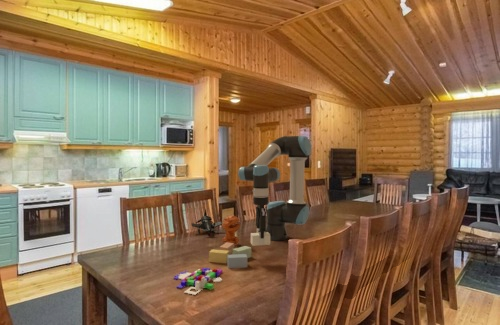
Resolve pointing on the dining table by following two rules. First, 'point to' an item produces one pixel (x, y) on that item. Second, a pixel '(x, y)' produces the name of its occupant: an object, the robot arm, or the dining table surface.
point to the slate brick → (237, 261)
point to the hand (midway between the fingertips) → (260, 242)
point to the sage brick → (242, 251)
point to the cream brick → (256, 239)
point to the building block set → (198, 279)
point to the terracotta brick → (227, 247)
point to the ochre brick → (218, 256)
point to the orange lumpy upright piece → (231, 229)
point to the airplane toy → (206, 224)
